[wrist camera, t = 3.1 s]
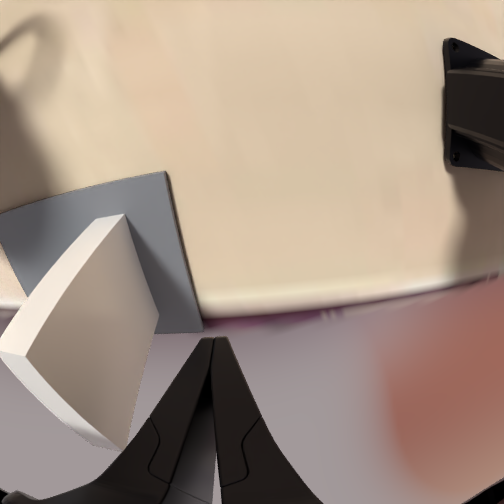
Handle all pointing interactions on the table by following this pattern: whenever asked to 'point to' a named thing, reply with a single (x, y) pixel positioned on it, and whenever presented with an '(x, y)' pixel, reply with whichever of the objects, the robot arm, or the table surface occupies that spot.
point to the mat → (142, 232)
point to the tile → (87, 334)
